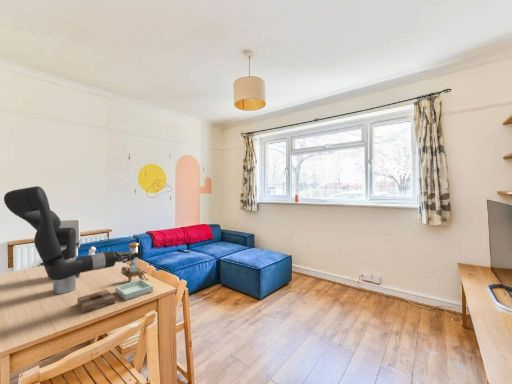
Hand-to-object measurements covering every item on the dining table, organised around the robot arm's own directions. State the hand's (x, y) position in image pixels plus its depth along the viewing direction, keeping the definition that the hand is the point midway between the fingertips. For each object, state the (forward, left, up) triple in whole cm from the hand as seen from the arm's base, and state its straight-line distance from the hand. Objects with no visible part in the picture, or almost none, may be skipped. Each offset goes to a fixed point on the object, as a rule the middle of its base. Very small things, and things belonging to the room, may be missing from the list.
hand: (139, 253), depth 125 cm
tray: (0, -3, -20) cm, 20 cm away
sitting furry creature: (-71, -5, -20) cm, 74 cm away
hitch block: (0, -20, -20) cm, 28 cm away
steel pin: (0, -3, -8) cm, 9 cm away
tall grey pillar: (-52, -21, -20) cm, 60 cm away
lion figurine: (-15, +3, -20) cm, 25 cm away
